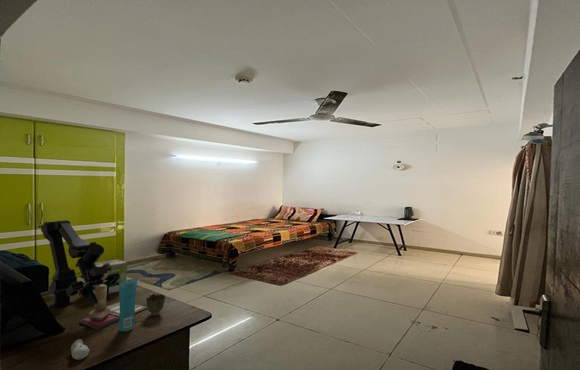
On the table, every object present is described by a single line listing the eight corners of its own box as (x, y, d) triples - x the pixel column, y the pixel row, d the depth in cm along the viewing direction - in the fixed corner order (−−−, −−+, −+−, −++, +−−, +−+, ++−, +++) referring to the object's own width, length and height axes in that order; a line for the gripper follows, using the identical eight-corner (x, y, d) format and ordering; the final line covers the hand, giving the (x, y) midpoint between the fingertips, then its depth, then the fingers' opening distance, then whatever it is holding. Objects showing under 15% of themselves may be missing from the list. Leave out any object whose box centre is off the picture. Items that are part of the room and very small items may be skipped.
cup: (157, 319, 125) (157, 300, 125) (141, 317, 127) (142, 298, 127) (167, 312, 132) (168, 294, 132) (153, 310, 134) (153, 292, 134)
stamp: (89, 319, 119) (90, 288, 119) (97, 313, 124) (99, 283, 124) (101, 320, 119) (103, 288, 119) (109, 314, 124) (111, 284, 124)
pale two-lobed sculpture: (87, 362, 96) (69, 363, 93) (85, 350, 103) (68, 350, 100) (93, 349, 97) (75, 349, 94) (90, 338, 103) (73, 337, 100)
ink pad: (79, 323, 119) (79, 319, 119) (101, 314, 127) (101, 311, 127) (97, 329, 115) (97, 326, 115) (119, 320, 123) (119, 316, 123)
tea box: (95, 298, 144) (96, 267, 144) (85, 293, 150) (86, 263, 150) (126, 289, 157) (127, 261, 157) (116, 285, 162) (117, 258, 162)
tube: (130, 323, 121) (132, 276, 121) (139, 326, 119) (141, 278, 119) (113, 331, 114) (115, 281, 114) (122, 334, 112) (124, 283, 112)
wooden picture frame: (97, 311, 131) (97, 309, 131) (122, 301, 142) (122, 300, 142) (123, 319, 124) (123, 317, 124) (147, 308, 135) (147, 306, 135)
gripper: (71, 262, 115) (85, 297, 110) (119, 253, 131) (133, 284, 126) (60, 279, 119) (73, 313, 113) (107, 268, 135) (121, 298, 130)
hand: (102, 301), depth 121 cm, fingers closed on stamp, 4 cm apart
